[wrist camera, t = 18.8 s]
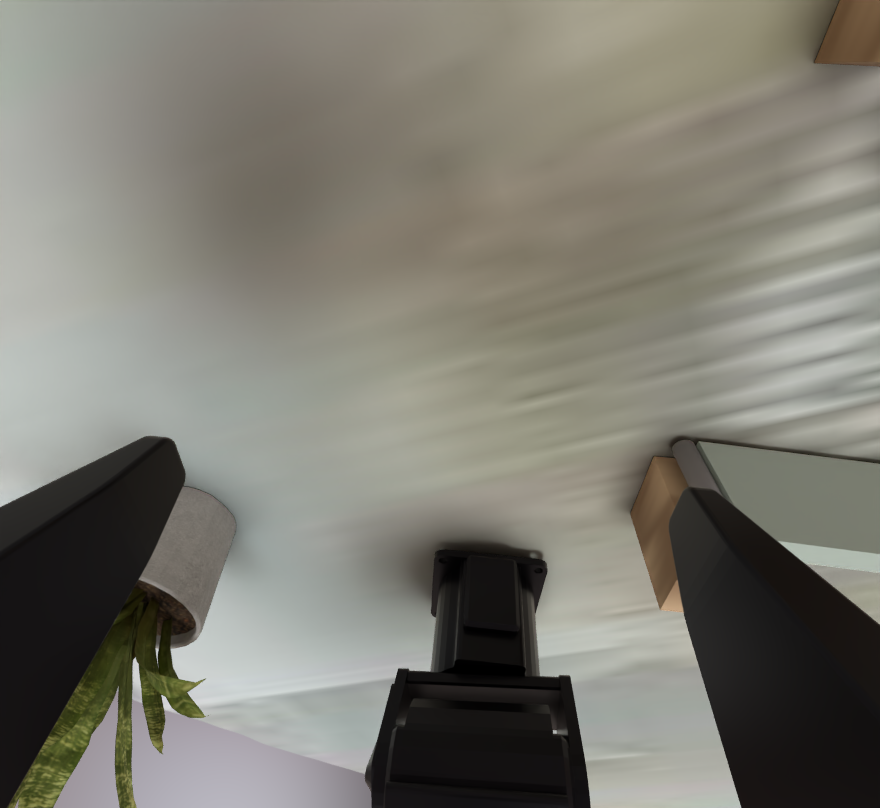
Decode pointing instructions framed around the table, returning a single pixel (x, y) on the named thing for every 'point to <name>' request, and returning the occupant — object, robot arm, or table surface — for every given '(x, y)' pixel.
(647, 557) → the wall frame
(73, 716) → the house plant
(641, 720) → the table surface
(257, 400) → the table surface
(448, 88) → the table surface
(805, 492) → the door
